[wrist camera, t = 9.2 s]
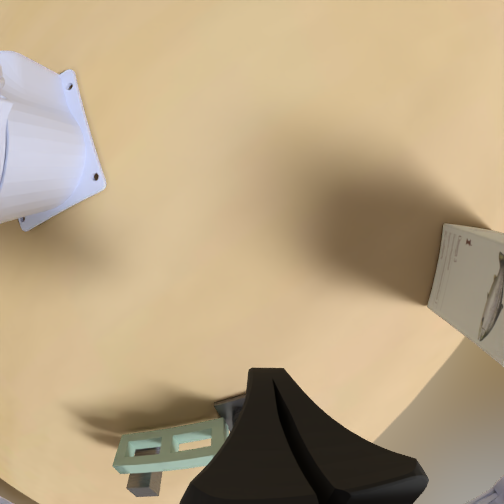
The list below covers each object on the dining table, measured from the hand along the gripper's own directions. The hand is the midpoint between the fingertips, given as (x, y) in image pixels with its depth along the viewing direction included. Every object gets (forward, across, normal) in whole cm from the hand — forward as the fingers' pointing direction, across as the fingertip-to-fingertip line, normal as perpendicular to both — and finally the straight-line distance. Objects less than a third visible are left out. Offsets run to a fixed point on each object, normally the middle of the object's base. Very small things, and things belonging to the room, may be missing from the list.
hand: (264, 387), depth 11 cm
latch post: (+10, +8, +18) cm, 22 cm away
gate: (+9, +5, +13) cm, 17 cm away
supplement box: (+10, -18, -3) cm, 21 cm away
